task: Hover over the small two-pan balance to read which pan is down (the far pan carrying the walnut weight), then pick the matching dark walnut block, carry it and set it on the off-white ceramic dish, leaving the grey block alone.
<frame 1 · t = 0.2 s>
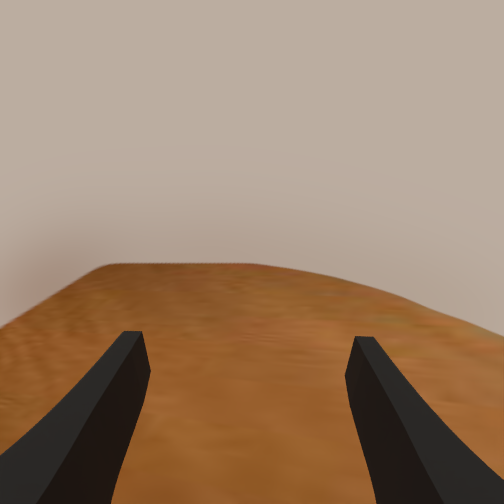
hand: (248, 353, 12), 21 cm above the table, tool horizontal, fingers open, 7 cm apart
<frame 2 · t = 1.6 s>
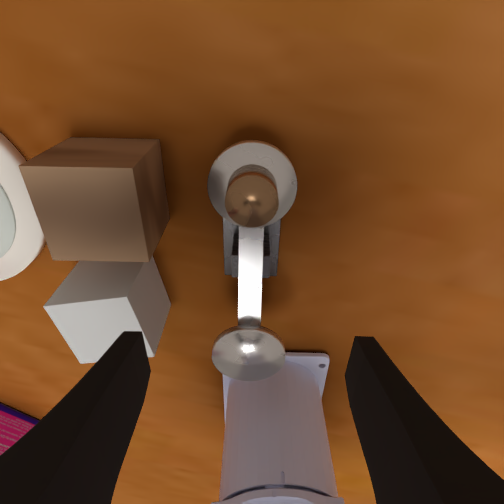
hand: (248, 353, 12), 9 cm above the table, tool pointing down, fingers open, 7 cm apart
balance: (251, 239, 20), on the table
walnut block: (123, 180, 18), on the table
grey block: (128, 281, 22), on the table
supplement box: (11, 422, 31), on the table
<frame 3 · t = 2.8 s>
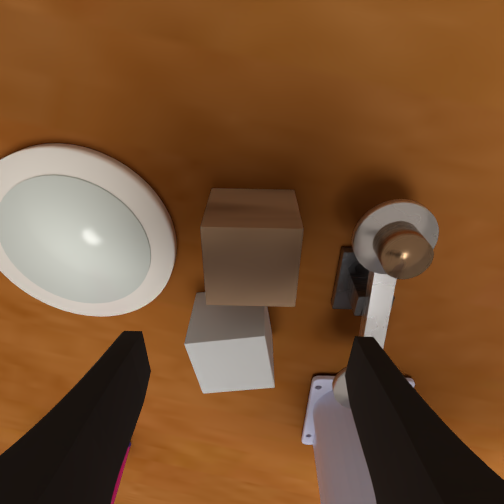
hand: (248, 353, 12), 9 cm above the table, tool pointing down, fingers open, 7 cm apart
balance: (361, 276, 21), on the table
dish: (84, 236, 20), on the table
walnut block: (252, 224, 20), on the table
grey block: (235, 313, 23), on the table
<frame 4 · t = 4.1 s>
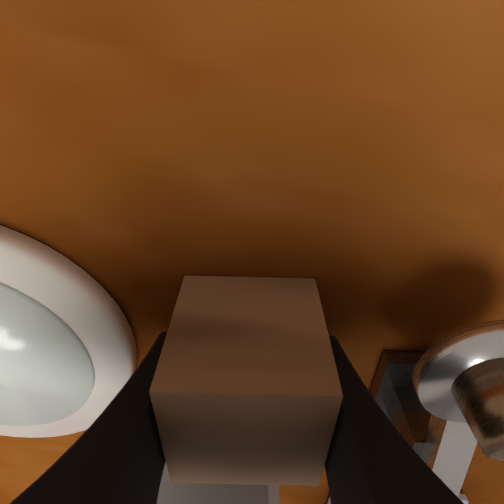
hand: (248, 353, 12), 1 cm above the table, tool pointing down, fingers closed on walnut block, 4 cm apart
balance: (408, 386, 15), on the table
walnut block: (248, 324, 13), on the table, touching gripper
grey block: (226, 424, 17), on the table
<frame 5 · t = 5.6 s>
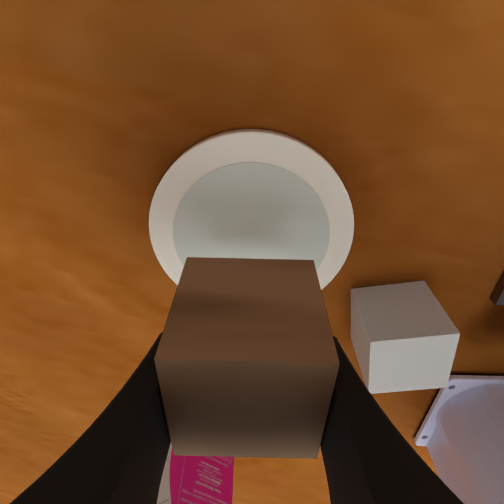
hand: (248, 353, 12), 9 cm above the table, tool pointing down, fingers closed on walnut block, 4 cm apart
dish: (251, 229, 19), on the table
walnut block: (249, 306, 13), point 7 cm above the table, touching gripper
grey block: (384, 310, 22), on the table
supplement box: (194, 440, 32), on the table
when the fingers open (4 cm above the table, at t = 7.0 s): walnut block stays where it is, resting on dish.
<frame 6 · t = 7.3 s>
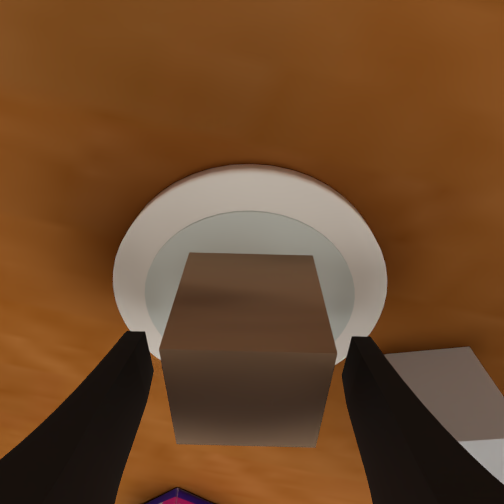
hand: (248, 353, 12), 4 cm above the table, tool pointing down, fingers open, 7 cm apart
dish: (249, 287, 15), on the table
walnut block: (249, 300, 13), point 1 cm above the table, touching dish
grey block: (416, 378, 18), on the table
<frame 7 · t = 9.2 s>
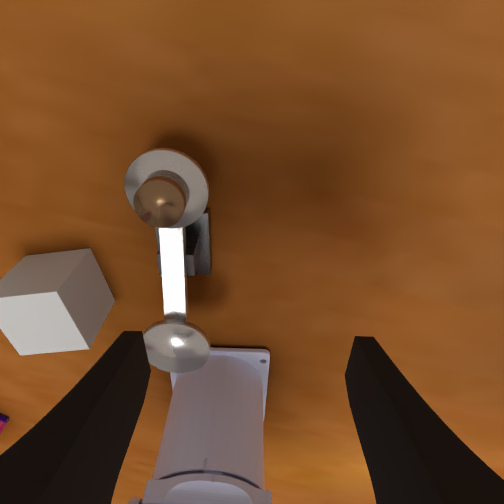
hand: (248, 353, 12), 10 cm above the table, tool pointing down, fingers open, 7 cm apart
balance: (184, 239, 21), on the table
grey block: (72, 278, 23), on the table
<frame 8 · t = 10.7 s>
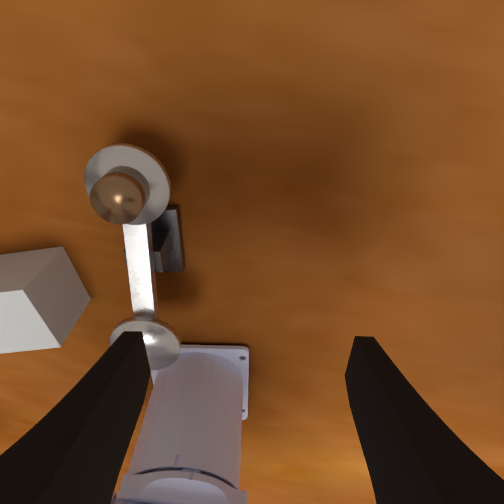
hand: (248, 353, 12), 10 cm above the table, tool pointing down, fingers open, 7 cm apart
balance: (156, 236, 21), on the table
grey block: (47, 277, 23), on the table
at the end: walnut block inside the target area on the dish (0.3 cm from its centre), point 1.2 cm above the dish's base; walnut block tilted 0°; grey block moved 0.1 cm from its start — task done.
